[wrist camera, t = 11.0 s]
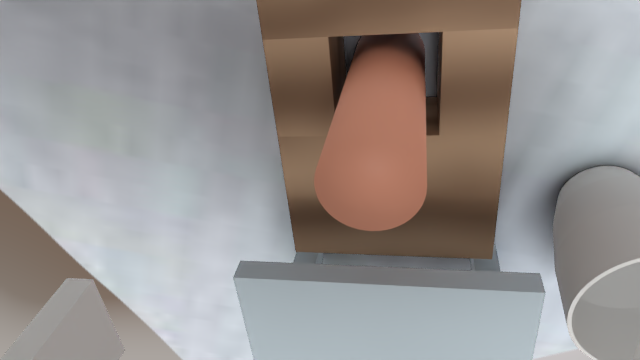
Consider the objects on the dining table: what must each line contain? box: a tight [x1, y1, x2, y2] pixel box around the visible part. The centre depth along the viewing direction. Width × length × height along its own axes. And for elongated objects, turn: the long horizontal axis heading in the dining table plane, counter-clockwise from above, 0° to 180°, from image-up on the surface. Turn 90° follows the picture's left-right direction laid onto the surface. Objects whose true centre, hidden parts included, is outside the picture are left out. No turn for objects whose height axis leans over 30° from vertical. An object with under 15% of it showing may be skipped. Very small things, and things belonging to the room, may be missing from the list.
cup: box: [553, 166, 640, 360], centre depth 28 cm, size 8×8×10 cm
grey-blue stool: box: [233, 244, 545, 360], centre depth 30 cm, size 9×14×12 cm, turn 95°
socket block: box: [256, 0, 521, 259], centre depth 28 cm, size 18×12×5 cm, turn 5°
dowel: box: [314, 33, 427, 231], centre depth 24 cm, size 4×4×14 cm
